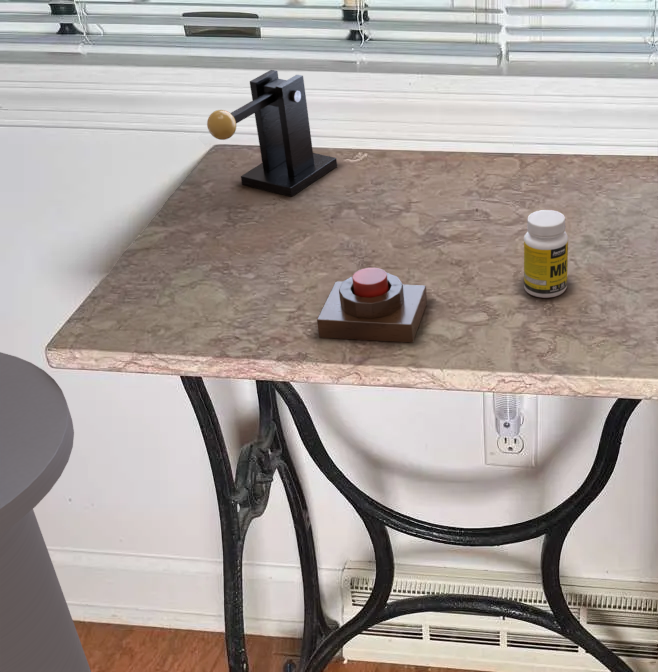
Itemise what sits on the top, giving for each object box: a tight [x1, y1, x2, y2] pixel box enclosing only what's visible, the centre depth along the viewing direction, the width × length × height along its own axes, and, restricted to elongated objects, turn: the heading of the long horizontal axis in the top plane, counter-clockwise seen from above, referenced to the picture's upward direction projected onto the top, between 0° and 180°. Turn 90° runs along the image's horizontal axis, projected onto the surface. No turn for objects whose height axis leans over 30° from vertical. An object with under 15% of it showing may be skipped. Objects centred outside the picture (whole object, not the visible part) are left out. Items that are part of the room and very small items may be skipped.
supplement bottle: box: [523, 209, 569, 299], centre depth 127 cm, size 5×5×8 cm
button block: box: [316, 272, 428, 343], centre depth 125 cm, size 10×8×4 cm
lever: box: [206, 77, 287, 141], centre depth 144 cm, size 14×3×3 cm, turn 150°
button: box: [351, 267, 388, 298], centre depth 123 cm, size 4×4×2 cm
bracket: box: [240, 69, 338, 198], centre depth 150 cm, size 10×8×13 cm
